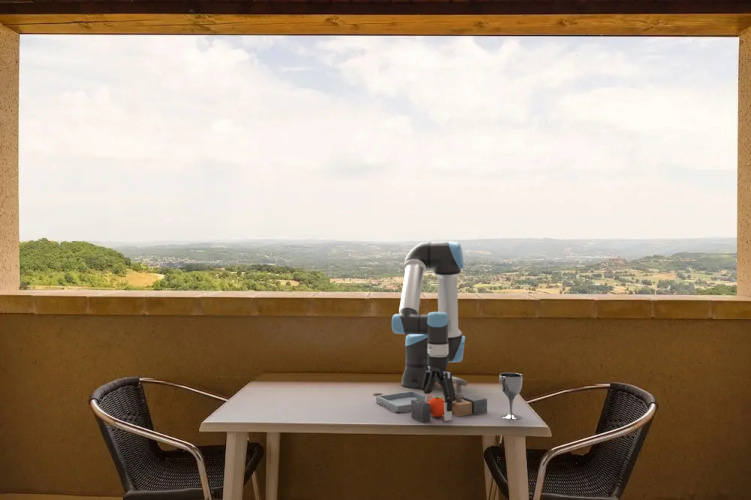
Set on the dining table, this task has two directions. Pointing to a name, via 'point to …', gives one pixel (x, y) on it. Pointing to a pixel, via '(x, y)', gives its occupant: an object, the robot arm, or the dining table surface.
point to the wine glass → (511, 391)
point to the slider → (460, 405)
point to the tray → (399, 400)
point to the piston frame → (479, 404)
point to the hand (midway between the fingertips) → (438, 415)
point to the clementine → (437, 406)
